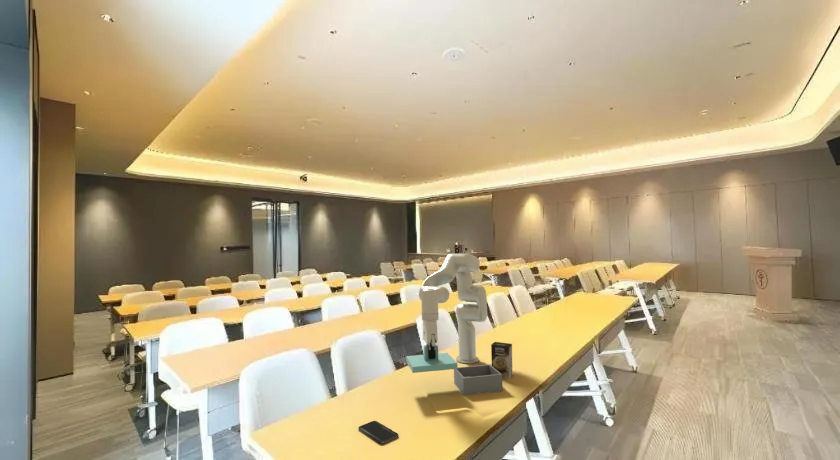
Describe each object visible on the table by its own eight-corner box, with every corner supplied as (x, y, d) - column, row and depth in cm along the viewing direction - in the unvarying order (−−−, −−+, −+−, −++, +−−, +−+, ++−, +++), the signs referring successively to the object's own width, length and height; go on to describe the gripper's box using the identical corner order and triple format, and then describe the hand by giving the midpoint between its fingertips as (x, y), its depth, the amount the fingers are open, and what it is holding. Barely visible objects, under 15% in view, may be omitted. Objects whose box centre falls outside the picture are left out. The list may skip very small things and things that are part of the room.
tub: (454, 385, 175) (453, 367, 175) (490, 381, 178) (489, 364, 179) (463, 397, 161) (463, 378, 161) (502, 392, 165) (502, 374, 165)
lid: (406, 361, 173) (406, 343, 174) (447, 358, 177) (447, 340, 178) (412, 372, 158) (412, 352, 158) (457, 368, 162) (457, 349, 162)
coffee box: (491, 377, 183) (490, 344, 184) (495, 373, 189) (494, 341, 189) (509, 380, 179) (508, 346, 180) (513, 376, 185) (512, 343, 185)
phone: (381, 443, 124) (357, 427, 135) (381, 446, 124) (357, 430, 135) (400, 434, 129) (375, 419, 141) (400, 438, 129) (375, 422, 141)
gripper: (418, 313, 176) (419, 353, 175) (426, 320, 160) (426, 363, 159) (433, 312, 177) (434, 351, 176) (442, 319, 161) (443, 362, 160)
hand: (430, 357), depth 168 cm, fingers closed on lid, 3 cm apart
